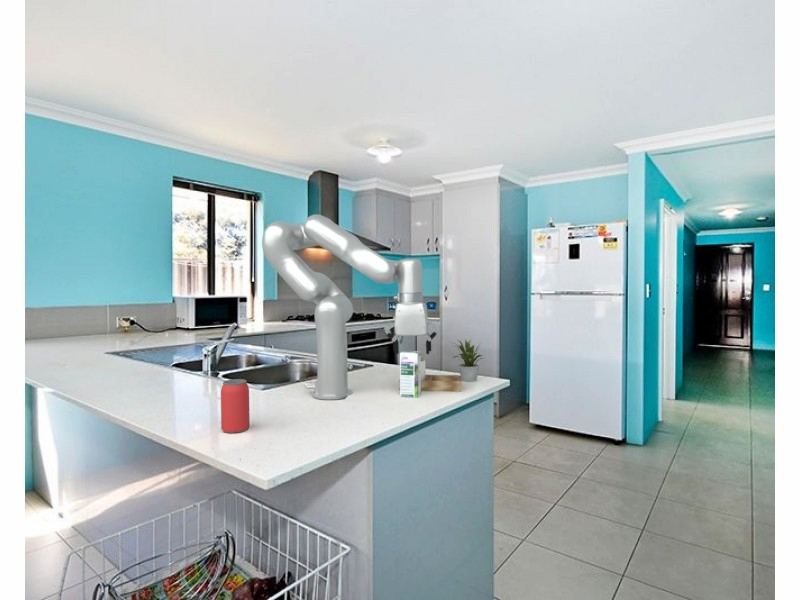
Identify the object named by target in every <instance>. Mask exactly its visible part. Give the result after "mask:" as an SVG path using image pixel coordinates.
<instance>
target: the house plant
mask: <svg viewBox="0 0 800 600" xmlns="http://www.w3.org/2000/svg"><path fill="white" fill-rule="evenodd" d="M457 341H458V342H459V343H460V345H458V344H457V343H456V342H455V343H454V342H451V341H450V343H452V346H453V347H455V348H457V350H458V351H459V354H458V355H453V357H452V360H453V359H455V358H458V357H460V358H461V359H462V360H463V361H462V360H461V359H459V358H458V360H460V362H461V364H458V367H459V368H458V369H459V375H461V382H464V383H474V382H477V380H478V374H479V366H480V365H479V364H477V363H478V361H480V360H481V359H483V357H481V356H483V355H482V354H480V353H479V352H478V350H479V349H478V348H479V347H480V345H481V343H479V345H478V346H477V347H476V349H475V345H474V344H473V345H471V343H472V340H468V341H467V339H464V344H463V342H462V341H461V340H459V339H457ZM453 344H455V345H453ZM477 354H478V355H477ZM459 355H460V356H459ZM479 357H481V358H479ZM463 362H464V363H463Z"/></svg>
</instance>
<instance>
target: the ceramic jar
mask: <svg viewBox="0 0 800 600" xmlns="http://www.w3.org/2000/svg"><path fill="white" fill-rule="evenodd" d="M425 375H426V359H425V358H424V356H421V380H425Z"/></svg>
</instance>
